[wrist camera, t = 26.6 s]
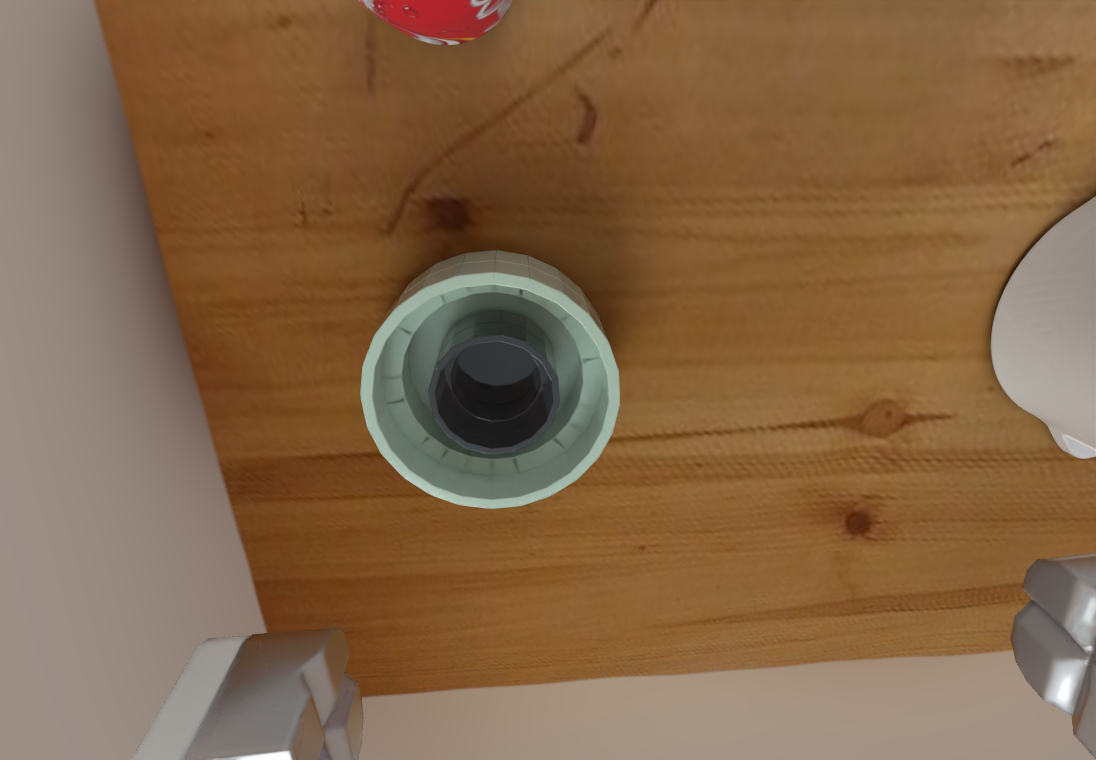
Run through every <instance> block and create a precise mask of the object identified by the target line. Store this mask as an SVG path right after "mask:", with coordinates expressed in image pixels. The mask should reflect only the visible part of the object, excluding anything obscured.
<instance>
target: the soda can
mask: <svg viewBox="0 0 1096 760" xmlns="http://www.w3.org/2000/svg"><path fill="white" fill-rule="evenodd" d="M358 1H359V2H360V3H361V4H362V5H364V6H365V7H366V8H368V9H369V10H370V11H372V12H373V13H374V14H376V15H377V16H378V17H380V18H381V19H383V20H384V21H386V22H387V23H389V24H390V25H392V26H393V27H395V28H397V29H398V30H400V31H402V32H404V33H406V34H408V35H410V36H411V37H413V38H415V39H418V40H421V41H424V42H427V43H431V44H437V45H456V44H461V43H466V42H468V41H471V40H474V39H476V38H478V37H480V36H482V35H483V34H485V33H487V32H488V31H489V30H490V29H492V28H493V27H494V26H495V25H496V24H497V23H498V22H499V21H500V20H501V19H502V18H503V16H504V15H505V14H506V12H507V11H508V9H509V8H510V6H511V4H512V3H513V1H514V0H358Z"/></svg>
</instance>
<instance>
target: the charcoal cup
mask: <svg viewBox="0 0 1096 760" xmlns="http://www.w3.org/2000/svg"><path fill="white" fill-rule="evenodd" d="M428 394H429V400H430V406H431V412H432V415H433V417H434V418H435V420H436V421H437V423H438V424H439V426H440V427H441V429H442V430H443V432H444V433H445V434H446V435H447V436H448V437H450V438H451V439H453V440H454V441H456V442H457V443H458V444H460V445H461V446H463V447H464V448H466V449H470V450H474V451H478V452H482V453H486V454H498V453H509V452H515V451H517V450H519V449H521V448H523V447H526V446H528V445H530V444H532V443H534V442H536V441H537V440H538V439H539V438H540V437H541V436H542V434H543V433H544V432H545V431H546V430H547V429H548V428H549V427H550V426H551V425H552V423H553V420H554V418H555V415H556V412H557V409H558V407H559V404H560V396H559V383H558V375H557V369H556V363H555V357H554V352H553V349H552V347H551V345H550V343H549V341H548V339H547V338H546V336H545V334H544V332H543V331H542V330H541V329H540V328H538V327H537V326H536V325H535V324H533V323H532V322H531V321H529V320H528V319H527V318H526V317H524V316H520V315H517V314H513V313H510V312H507V311H502V310H497V311H486V312H478V313H475V314H474V315H472V316H470V317H468V318H466V319H464V320H462V321H460V322H458V323H457V324H456V325H455V326H454V327H453V329H452V330H451V331H450V332H449V333H448V335H447V336H446V337H445V338H444V340H443V341H442V344H441V348H440V351H439V354H438V357H437V361H436V364H435V367H434V371H433V375H432V378H431V382H430V386H429V389H428Z"/></svg>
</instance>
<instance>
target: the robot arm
mask: <svg viewBox="0 0 1096 760" xmlns="http://www.w3.org/2000/svg"><path fill="white" fill-rule="evenodd" d="M991 357H992V363H993V367H994V371H995V373H996V376H997V379H998V381H999V383H1000V385H1001V386H1002V388H1003V390H1004V391H1005V392H1006V394H1007V395H1008V396H1009V397H1010V398H1011V399H1012V401H1013V402H1015V403H1016V404H1017V405H1018V406H1019V407H1021V408H1022V409H1024V410H1025V411H1027V412H1029V413H1031V414H1032V415H1034V416H1036V417H1037V418H1039V419H1040V420H1042V421H1043V422H1044V423H1045V424H1046V425H1047V426H1048V428H1049V430H1050V432H1051V434H1052V436H1053V438H1054V440H1055V441H1056V443H1057V445H1058V446H1059V447H1060V448H1061V449H1062V450H1063V451H1065V452H1067V453H1069V454H1071V455H1073V456H1075V457H1078V458H1083V459H1085V458H1091V457H1095V456H1096V196H1095V197H1093V198H1092V199H1091V200H1089V201H1088V202H1086V203H1085V204H1083V205H1082V206H1080V207H1079V208H1077V209H1076V210H1074V211H1073V212H1071V213H1070V214H1068V215H1067V216H1066V217H1064V218H1063V219H1062V220H1060V221H1059V222H1058V223H1057V224H1056V225H1054V226H1053V227H1052V228H1051V229H1050V230H1049V231H1048V232H1047V233H1046V234H1044V235H1043V236H1042V237H1041V239H1040V240H1039V241H1038V242H1037V243H1036V244H1035V245H1034V246H1033V247H1032V248H1031V249H1030V251H1029V252H1028V253H1027V254H1026V256H1025V257H1024V258H1023V260H1022V261H1021V262H1020V264H1019V265H1018V267H1017V268H1016V270H1015V271H1014V273H1013V274H1012V276H1011V278H1010V280H1009V281H1008V283H1007V285H1006V287H1005V289H1004V291H1003V294H1002V296H1001V298H1000V301H999V304H998V306H997V310H996V313H995V317H994V321H993V326H992V333H991ZM1023 588H1024V590H1025V591H1026V593H1027V594H1028V596H1029V597H1030V599H1031V601H1030V602H1029V603H1028V604H1027V605H1026V606H1025V607H1024V608H1023V609H1022V610H1021V611H1020V612H1019V613H1018V614H1017V615H1016V616H1015V618H1014V623H1013V628H1012V633H1011V638H1010V639H1011V643H1012V647H1013V651H1014V656H1015V660H1016V663H1017V665H1018V666H1019V668H1020V670H1021V672H1022V674H1023V675H1024V677H1025V679H1026V680H1027V682H1028V683H1029V684H1030V685H1031V686H1032V688H1033V689H1034V690H1035V691H1036V692H1037V693H1038V695H1039V696H1040V697H1041V698H1042V699H1043V700H1044V701H1046V702H1048V703H1050V704H1052V705H1053V706H1055V707H1057V708H1059V709H1061V710H1063V711H1064V712H1066V713H1068V714H1070V715H1072V724H1073V733H1074V735H1075V736H1076V738H1077V739H1078V740H1079V741H1080V742H1081V743H1082V744H1083V745H1084V746H1085V748H1086V749H1087V750H1088V751H1089V752H1090V753H1091V754H1092V755H1093V757H1094V758H1095V759H1096V553H1093V554H1084V555H1074V556H1065V557H1055V558H1046V559H1037V560H1036V561H1035V562H1034V563H1033V564H1032V565H1031V566H1030V567H1029V568H1028V569H1027V573H1026V576H1025V580H1024V583H1023ZM349 655H350V651H349V648H348V645H347V642H346V638H345V635H344V632H343V631H341V630H339V629H337V628H332V629H319V630H305V631H291V632H278V633H264V634H252V635H251V636H237V637H222V638H209V639H208V640H206V641H205V642H203V643H202V644H201V645H199V646H198V647H197V648H196V650H195V651H194V653H193V655H192V656H191V658H190V660H189V662H188V663H187V665H186V667H185V668H184V670H183V672H182V674H181V675H180V677H179V679H178V681H177V682H176V684H175V686H174V687H173V689H172V690H171V692H170V694H169V696H168V698H167V699H166V701H165V702H164V704H163V706H162V707H161V710H160V711H159V713H158V714H157V716H156V718H155V720H154V721H153V723H152V725H151V726H150V728H149V730H148V731H147V733H146V735H145V737H144V738H143V740H142V742H141V743H140V745H139V747H138V749H137V750H136V752H135V753H134V755H133V757H132V759H131V760H358V758H359V753H360V749H361V744H362V729H363V709H362V697H361V693H360V689H359V685H358V681H356V680H355V679H354V678H353V677H351V676H350V675H349V674H347V673H346V672H345V669H346V665H347V662H348V658H349Z"/></svg>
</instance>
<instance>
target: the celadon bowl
mask: <svg viewBox="0 0 1096 760" xmlns="http://www.w3.org/2000/svg"><path fill="white" fill-rule="evenodd" d="M497 310H502V311H507V312H510V313H513V314H517V315H520V316H524V317H526V318H527V319H528V320H529V321H531V322H532V323H533V324H535V325H536V326H537V327H538V328H540V329H541V330H542V331H543V332H544V334H545V336H546V338H547V339H548V341H549V343H550V345H551V347H552V349H553V352H554V357H555V363H556V369H557V375H558V383H559V396H560V404H559V407H558V409H557V412H556V415H555V418H554V420H553V423H552V425H551V426H550V427H549V428H548V429H547V430H546V431H545V432H544V433H543V434H542V436H541V437H540V438H539V439H538V440H537V441H536V442H534V443H532V444H530V445H528V446H526V447H523V448H521V449H519V450H517V451H515V452H509V453H498V454H486V453H482V452H478V451H474V450H470V449H466V448H464V447H463V446H461V445H460V444H458V443H457V442H456V441H454V440H453V439H451V438H450V437H448V436H447V435H446V434H445V433H444V432H443V430H442V429H441V427H440V426H439V424H438V423H437V421H436V420H435V418H434V417H433V415H432V412H431V406H430V400H429V394H428V389H429V386H430V382H431V378H432V375H433V371H434V367H435V364H436V361H437V357H438V354H439V351H440V348H441V344H442V341H443V340H444V338H445V337H446V336H447V335H448V333H449V332H450V331H451V330H452V329H453V327H454V326H455V325H456V324H457V323H458V322H460V321H462V320H464V319H466V318H468V317H470V316H472V315H474V314H475V313H478V312H486V311H497ZM360 396H361V397H360V398H361V402H362V407H363V411H364V416H365V421H366V425H367V428H368V430H369V432H370V434H371V435H372V437H373V439H374V441H375V443H376V445H377V447H378V449H379V450H380V452H381V454H382V455H383V456H384V457H385V459H386V460H387V461H388V462H389V463H390V464H391V465H392V466H393V467H394V468H395V469H396V470H397V471H398V472H399V474H400V475H401V476H403V477H404V478H405V479H407V480H408V481H410V482H411V483H413V484H414V485H416V486H417V487H419V488H420V489H422V490H423V491H425V492H427V493H428V494H430V495H433V496H435V497H438V498H441V499H444V500H446V501H449V502H452V503H455V504H457V505H458V504H459V505H464V506H472V507H480V508H488V509H489V508H490V509H494V508H505V507H515V506H521V505H525V504H528V503H531V502H534V501H537V500H540V499H543V498H546V497H550V495H553V494H555V493H556V492H558V491H560V490H561V489H563V488H564V487H566V486H568V485H569V484H571V483H573V482H574V481H576V479H578V478H579V477H580V476H581V475H582V474H583V473H584V472H585V471H586V470H587V469H588V468H589V467H590V466H591V465H592V464H593V463H594V462H595V461H596V460H597V458H599V456H600V454H601V453H602V451H603V449H604V447H605V445H606V444H607V442H608V440H609V438H610V437H611V435H612V433H613V430H614V426H615V422H616V418H617V414H618V410H619V406H620V384H619V370H618V367H617V364H616V361H615V358H614V356H613V353H612V350H611V347H610V344H609V341H608V339H607V336H606V333H605V331H604V328H603V326H602V323H601V321H600V318H599V316H598V313H597V311H596V310H595V308H594V307H593V306H592V304H591V303H590V301H589V300H588V298H587V297H586V296H585V294H584V293H583V291H582V290H581V289H580V288H579V287H578V286H577V285H576V284H575V283H574V282H572V281H571V280H570V279H569V278H568V277H566V276H565V275H564V274H563V273H562V272H560V271H559V270H558V269H556V268H555V267H552V266H550V265H548V264H546V263H544V262H541V261H539V260H537V259H535V258H533V257H531V256H527V255H523V254H517V253H511V252H505V251H499V250H497V251H495V250H493V251H482V252H471V253H463V254H460V255H458V256H455V257H452V258H450V259H447V260H444V261H442V262H439V263H436V264H435V265H433V266H432V267H430V268H429V269H428V270H426V271H425V272H423V273H422V274H421V275H419V276H418V277H417V278H415V279H414V280H412V281H411V283H409V284H408V285H407V287H406V288H405V289H404V291H403V292H402V293H401V294H400V296H399V297H398V298H397V300H396V301H395V302H394V303H393V305H392V306H391V308H390V310H389V311H388V313H387V315H386V316H385V318H384V320H383V321H382V323H381V325H380V326H379V328H378V330H377V331H376V333H375V335H374V337H373V339H372V342H371V344H370V347H369V350H368V352H367V355H366V357H365V360H364V362H363V366H362V378H361V391H360Z"/></svg>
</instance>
